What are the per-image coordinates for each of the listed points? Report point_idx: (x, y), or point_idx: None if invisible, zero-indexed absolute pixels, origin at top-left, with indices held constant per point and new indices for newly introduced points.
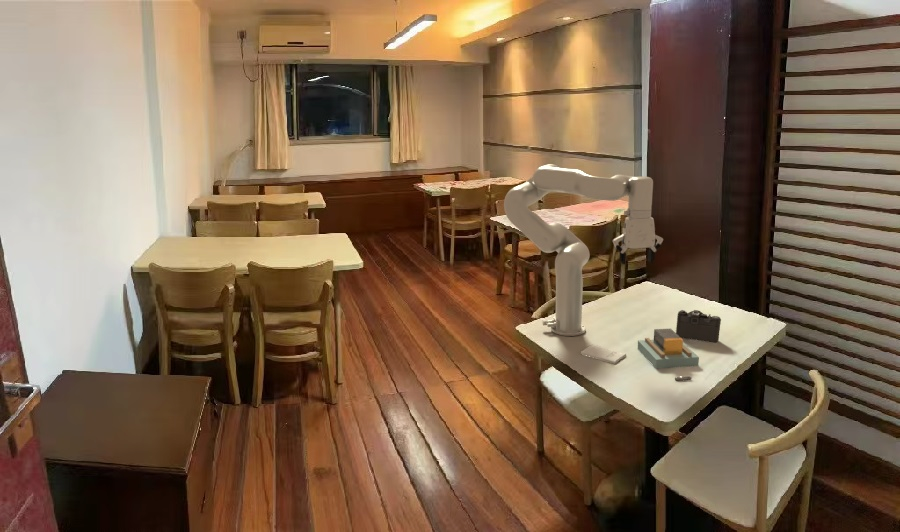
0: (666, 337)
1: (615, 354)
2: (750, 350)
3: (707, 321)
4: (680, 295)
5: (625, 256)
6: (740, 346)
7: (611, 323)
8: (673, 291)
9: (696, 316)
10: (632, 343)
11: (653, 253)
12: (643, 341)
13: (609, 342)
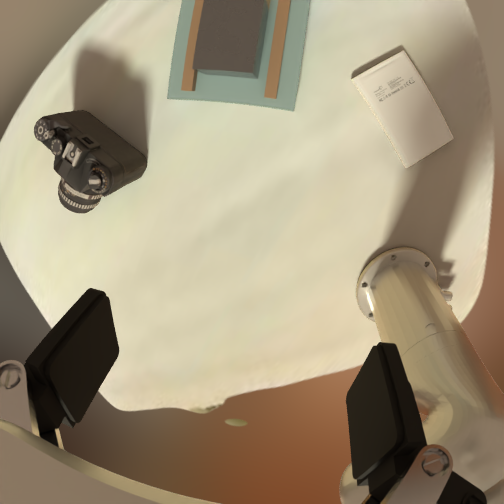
0: (251, 1)
1: (383, 84)
2: (49, 67)
3: (64, 123)
4: None
5: (396, 410)
6: (53, 88)
7: (270, 293)
8: None
9: (76, 142)
10: (288, 150)
11: (35, 351)
12: (281, 99)
13: (347, 178)
